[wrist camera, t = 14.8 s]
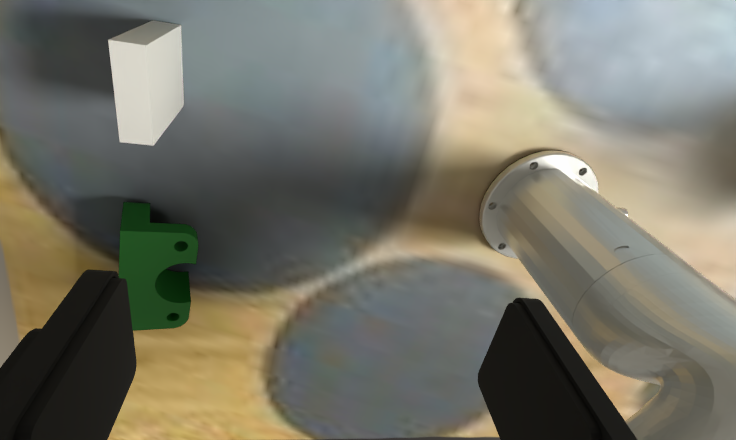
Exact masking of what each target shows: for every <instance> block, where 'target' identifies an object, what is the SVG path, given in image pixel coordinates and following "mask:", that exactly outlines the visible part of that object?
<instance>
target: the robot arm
mask: <svg viewBox="0 0 736 440" xmlns="http://www.w3.org/2000/svg"><path fill="white" fill-rule="evenodd" d="M479 217H480V227H481V230H482V233H483V235H484V237H485V238H486V240H487V241H488V243H489V244H490V245H491V247H492V248H493V249H495V250H496V251H497V252H499V253H501V254H503V255H505V256H507V257H511V258H516V259H519V260H520V261H521V263H522V264H523V265H524V267H525V268H526V269H527V271H528V272H529V274H530V275H531V276H532V278H533V279H534V280H535V282H536V283H537V284H538V286H539V287H540V288H541V290H542V291H543V293H544V294H545V295H546V297H547V298H548V299H549V301H550V302H551V303H552V305H553V306H554V307H555V309H556V310H557V311H558V313H559V314H560V316H561V317H562V318H563V320H564V321H565V322H566V324H567V325H568V326H569V328H570V329H571V330H572V332H573V333H574V335H575V336H576V337H577V339H578V340H579V341H580V342H581V344H582V345H583V346H584V348H585V349H586V350H587V351H588V353H589V354H590V355H591V356H592V357H593V358H594V359H596V360H597V361H598V362H599V363H600V364H602V365H604V366H605V367H607V368H608V369H610V370H612V371H614V372H616V373H619V374H621V375H624V376H627V377H630V378H633V379H637V380H641V381H645V382H649V383H654V384H659V385H661V387H660V390H659V391H658V393H657V394H656V395H655V396H654V397H653V398H652V399H651V400H650V401H648V402H647V403H646V404H645V405H644V406H643V407H642V409H640V410H639V411H638V412H637V413H635V414H634V415H633V416H632V417H630V418H629V419H628V420H626V421H624V419H623V418H622V416H621V415H620V413H619V412H618V411H617V409H616V408H615V406H614V405H613V403H612V402H611V400H610V399H609V398H608V396H607V395H606V393H605V392H604V390H603V389H602V388H601V386H600V385H599V383H598V382H597V380H596V379H595V377H594V376H593V375H592V373H591V372H590V370H589V369H588V367H587V366H586V364H585V363H584V362H583V360H582V359H581V357H580V356H579V354H578V353H577V352H576V350H575V349H574V347H573V346H572V344H571V343H570V341H569V340H568V339H567V337H566V336H565V334H564V333H563V331H562V330H561V328H560V327H559V326H558V324H557V323H556V321H555V320H554V318H553V317H552V315H551V314H550V313H549V311H548V310H547V308H546V307H545V305H544V304H543V303H542V302H541V301H540V300H538V299H529V298H516V299H515V300H514V301H513V303H509V304H508V306H507V307H506V310H505V312H504V314H503V317H502V319H501V321H500V324H499V326H498V328H497V331H496V333H495V335H494V338H493V340H492V342H491V345H490V347H489V349H488V352H487V354H486V356H485V358H484V361H483V363H482V365H481V368H480V370H479V373H478V384H479V387H480V390H481V392H482V395H483V397H484V400H485V402H486V404H487V407H488V409H489V412H490V414H491V417H492V419H493V422H494V424H495V427H496V429H497V432H498V434H499V437H500V439H501V440H736V299H735V298H734V297H732V296H731V295H729V294H728V293H727V292H725V291H724V290H722V289H721V288H720V287H718V286H717V285H716V284H714V283H713V282H711V281H710V280H709V279H707V278H706V277H705V276H704V275H702V274H701V273H700V272H698V271H697V270H696V269H695V268H693V267H692V266H691V265H689V264H688V263H687V262H686V261H684V260H683V259H682V258H680V257H679V256H678V255H677V254H675V253H674V252H673V251H671V250H670V249H669V248H668V247H666V246H665V245H664V244H662V243H661V242H660V241H659V240H657V239H656V238H655V237H653V236H652V235H651V234H650V233H648V232H647V231H646V230H645V229H643V228H642V227H641V226H639V225H638V224H637V223H636V222H634V221H633V220H632V219H630V218H629V217H628V211H627V210H626V209H625V208H618V207H615V206H614V205H612V204H611V203H610V202H609V201H607V200H606V199H605V198H604V197H602V196H601V195H600V194H599V188H598V181H597V178H596V175H595V173H594V172H593V170H592V169H591V167H590V166H589V165H588V164H587V163H585V162H584V161H583V160H582V159H580V158H578V157H577V156H575V155H573V154H570V153H567V152H564V151H556V150H553V151H542V152H538V153H534V154H531V155H528V156H526V157H524V158H521V159H519V160H518V161H516V162H515V163H513V164H511V165H510V166H508V167H507V168H506V169H505V170H504V171H503V172H501V173H500V174H499V175H498V177H497V178H496V179H495V180H494V181H493V182H492V184H491V185H490V187H489V188H488V190H487V192H486V193H485V196H484V198H483V201H482V203H481V208H480V213H479ZM135 371H136V354H135V346H134V337H133V329H132V320H131V312H130V304H129V295H128V287H127V281H126V279H124V278H119V276H118V274H117V272H115V271H101V270H86V271H85V272H84V273H83V274H82V275H81V277H80V278H79V279H78V281H77V282H76V283H75V285H74V286H73V287H72V289H71V290H70V292H69V293H68V294H67V296H66V297H65V298H64V300H63V301H62V302H61V304H60V305H59V306H58V308H57V309H56V310H55V312H54V313H53V315H52V316H51V317H50V319H49V320H48V321H47V323H46V324H45V325H44V327H43V328H42V329H33V330H31V331H30V332H29V333H28V334H27V335H26V336H25V337H24V338H23V339H22V340H21V342H20V343H19V344H18V346H17V347H16V348H15V350H14V351H13V352H12V353H11V355H10V356H9V358H8V359H7V360H6V361H5V363H4V364H3V365H2V367H1V368H0V440H107V439H108V437H109V434H110V432H111V430H112V427H113V425H114V423H115V420H116V418H117V416H118V413H119V411H120V409H121V406H122V404H123V402H124V399H125V397H126V395H127V392H128V390H129V388H130V385H131V383H132V381H133V378H134V375H135Z"/></svg>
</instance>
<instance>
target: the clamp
mask: <svg viewBox="0 0 736 440" xmlns="http://www.w3.org/2000/svg"><path fill="white" fill-rule="evenodd" d="M197 252H198V238H197V233H196V231H195V229H194V228H192V227H191V226H189V225H185V224H169V223H150V203H135V202H124V203H123V211H122V219H121V228H120V251H119V278H124V279H126V281H127V287H128V295H129V304H130V312H131V320H132V329H133V330H150V329H167V328H176V327H179V326H182V325H183V324H185V323H186V322H187V320H188V318H189V311H190V304H191V298H190V286H189V274H188V272H173V271H169V270H167V269H166V268H168V267H170V266H173V265H176V264H181V263H192V264H196V260H197Z"/></svg>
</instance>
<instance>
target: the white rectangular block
mask: <svg viewBox="0 0 736 440" xmlns="http://www.w3.org/2000/svg"><path fill="white" fill-rule="evenodd" d="M108 43H109V52H110V61H111V69H112V78H113V87H114V95H115V104H116V113H117V122H118V130H119V139H120V142H124V143H133V144H142V145H152V146H154V144H155V143H156V142H157V140H158V139H159V138H160V136H161V135H162V134H163V132H164V131H165V130H166V129H167V127H168V126H169V125H170V123H171V122H172V121H173V119H174V118H175V117H176V115H177V114H178V113H179V111H180V110H181V109H182V107H183V106H184V94H183V66H182V38H181V25H178V24H172V23H165V22H159V21H153V20H152V21H150V22H148V23H145V24H143V25H141V26H139V27H136V28H134V29H132V30H129V31H127V32H125V33H123V34H120V35H118V36H116V37H113V38H111V39H109V40H108Z"/></svg>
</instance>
